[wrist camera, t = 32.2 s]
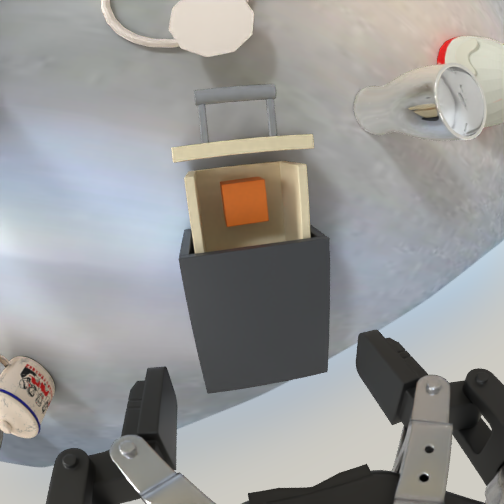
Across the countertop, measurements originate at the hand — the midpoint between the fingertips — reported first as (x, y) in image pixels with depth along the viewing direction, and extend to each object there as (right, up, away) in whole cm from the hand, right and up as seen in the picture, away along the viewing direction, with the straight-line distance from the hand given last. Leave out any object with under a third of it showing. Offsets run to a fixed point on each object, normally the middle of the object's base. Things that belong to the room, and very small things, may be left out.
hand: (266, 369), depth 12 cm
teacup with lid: (-35, -13, +25) cm, 44 cm away
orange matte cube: (-2, +10, +20) cm, 22 cm away
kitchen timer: (+31, +30, +21) cm, 48 cm away
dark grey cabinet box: (-1, +1, +25) cm, 25 cm away
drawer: (-2, +12, +21) cm, 24 cm away
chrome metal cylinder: (+14, +21, +21) cm, 33 cm away
